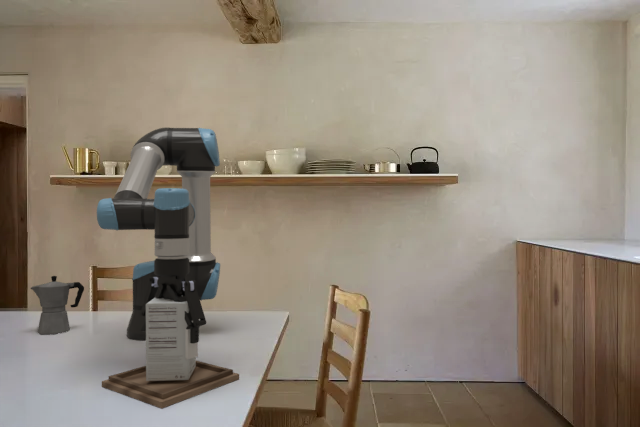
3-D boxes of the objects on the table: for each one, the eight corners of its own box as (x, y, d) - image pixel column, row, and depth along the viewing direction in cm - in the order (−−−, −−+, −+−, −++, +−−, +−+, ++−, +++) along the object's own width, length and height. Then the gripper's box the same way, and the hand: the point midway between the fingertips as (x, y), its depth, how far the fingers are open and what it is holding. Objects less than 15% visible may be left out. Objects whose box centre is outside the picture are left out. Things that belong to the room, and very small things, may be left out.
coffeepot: (28, 336, 152) (28, 278, 152) (32, 330, 161) (32, 275, 161) (83, 332, 158) (83, 276, 158) (84, 326, 167) (84, 273, 167)
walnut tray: (101, 386, 108) (101, 376, 108) (179, 363, 125) (179, 354, 125) (161, 408, 95) (161, 397, 95) (239, 379, 112) (239, 369, 112)
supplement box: (156, 367, 114) (155, 295, 115) (196, 366, 115) (196, 294, 115) (144, 381, 105) (144, 302, 105) (188, 380, 106) (188, 302, 106)
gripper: (124, 255, 114) (124, 347, 114) (195, 261, 100) (195, 366, 100) (152, 253, 120) (152, 341, 120) (222, 258, 106) (222, 357, 106)
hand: (171, 352), depth 110 cm, fingers closed on supplement box, 13 cm apart
